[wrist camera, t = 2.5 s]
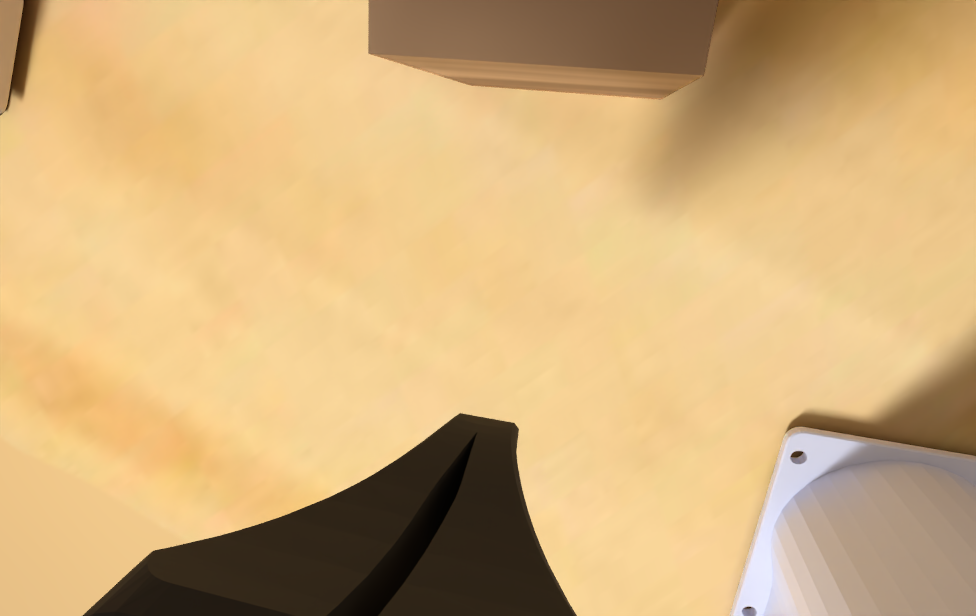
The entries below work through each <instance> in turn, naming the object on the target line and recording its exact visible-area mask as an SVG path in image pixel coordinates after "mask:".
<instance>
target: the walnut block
mask: <svg viewBox="0 0 976 616" xmlns="http://www.w3.org/2000/svg"><path fill="white" fill-rule="evenodd" d="M718 1H719V0H369V54H372V55H375V56H378V57H381V58H384V59H388V60H391V61H394V62H397V63H400V64H404V65H407V66H410V67H413V68H416V69H420V70H423V71H426V72H429V73H433V74H436V75H439V76H442V77H445V78H449V79H452V80H455V81H458V82H461V83H465V84H468V85H472V86H485V87H499V88H512V89H526V90H539V91H553V92H566V93H580V94H594V95H607V96H621V97H634V98H648V99H663V98H665V97H666V96H668V95H670V94H672V93H673V92H675V91H677V90H679V89H681V88H682V87H684V86H686V85H688V84H690V83H691V82H693V81H695V80H697V79H699V78H700V77H702V76H704V72H705V67H706V62H707V57H708V52H709V46H710V41H711V36H712V31H713V26H714V21H715V16H716V11H717V6H718Z"/></svg>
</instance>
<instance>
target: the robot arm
mask: <svg viewBox="0 0 976 616" xmlns="http://www.w3.org/2000/svg"><path fill="white" fill-rule="evenodd" d="M518 431H519V429H518V427H517V426H516V425H515V423H511V422H505V421H500V420H494V419H489V418H483V417H478V416H472V415H467V414H461V413H460V414H458V415H457V416H456V417H454V418H453V419H451V420H450V421H449V422H447V423H446V424H445V425H444V426H442V427H441V428H440V429H438V430H437V431H436V432H435V433H433V434H432V435H431V436H429V437H428V438H427V439H425V440H424V441H423V442H421V443H420V444H419V445H417V446H416V447H414V448H413V449H412V450H410V451H409V452H407V453H406V454H405V455H403V456H402V457H400V458H399V459H397V460H396V461H394V462H393V463H391V464H389V465H388V466H386V467H385V468H383V469H382V470H380V471H378V472H377V473H375V474H374V475H372V476H370V477H368V478H367V479H365V480H363V481H361V482H359V483H357V484H355V485H353V486H351V487H349V488H347V489H345V490H343V491H341V492H339V493H337V494H335V495H333V496H331V497H329V498H327V499H324V500H322V501H319V502H317V503H315V504H312V505H310V506H307V507H305V508H302V509H300V510H297V511H295V512H292V513H290V514H287V515H285V516H282V517H279V518H276V519H273V520H270V521H267V522H264V523H261V524H259V525H255V526H252V527H249V528H245V529H242V530H239V531H235V532H232V533H228V534H224V535H221V536H217V537H213V538H209V539H204V540H200V541H196V542H191V543H187V544H183V545H179V546H174V547H170V548H165V549H160V550H155V551H153V552H151V553H150V554H149V555H148V556H147V557H146V558H145V559H143V560H142V561H141V562H140V563H139V564H138V565H137V566H136V567H135V568H133V569H132V570H131V571H130V572H129V573H128V574H127V575H126V576H125V577H124V578H123V579H122V580H120V581H119V582H118V583H117V584H116V585H115V586H114V587H113V588H112V589H111V590H110V591H109V592H108V593H107V594H105V595H104V596H103V597H102V598H101V599H100V600H99V601H98V602H97V603H96V604H95V605H94V606H92V607H91V608H90V609H89V610H88V611H87V612H86V613H85V614H84V615H83V616H577V615H576V614H575V612H574V610H573V609H572V607H571V606H570V604H569V602H568V600H567V598H566V597H565V595H564V593H563V591H562V589H561V587H560V585H559V583H558V581H557V580H556V578H555V576H554V574H553V572H552V570H551V568H550V566H549V564H548V562H547V560H546V557H545V555H544V553H543V551H542V548H541V546H540V544H539V541H538V538H537V536H536V533H535V531H534V528H533V525H532V522H531V519H530V516H529V513H528V509H527V506H526V502H525V499H524V495H523V491H522V487H521V482H520V476H519V471H518V465H517V455H516V449H517V440H518ZM795 451H803V454H802V455H801V456H799V457H797V458H793V457H790V456H791V454H792V453H793V452H795ZM745 607H752V608H750V609H745ZM729 616H976V456H973V455H967V454H961V453H955V452H949V451H943V450H937V449H931V448H926V447H920V446H914V445H908V444H902V443H896V442H890V441H884V440H878V439H872V438H866V437H860V436H854V435H849V434H843V433H837V432H831V431H825V430H819V429H813V428H807V427H795V428H792V429H790V430H789V431H787V432H786V434H785V436H784V438H783V441H782V445H781V448H780V451H779V454H778V458H777V461H776V464H775V468H774V471H773V474H772V477H771V481H770V484H769V487H768V491H767V494H766V497H765V500H764V504H763V507H762V510H761V514H760V517H759V520H758V523H757V527H756V530H755V533H754V537H753V540H752V543H751V546H750V550H749V553H748V556H747V560H746V563H745V566H744V569H743V573H742V576H741V579H740V583H739V586H738V589H737V592H736V596H735V599H734V602H733V605H732V609H731V612H730V615H729Z"/></svg>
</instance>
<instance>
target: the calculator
mask: <svg viewBox="0 0 976 616" xmlns="http://www.w3.org/2000/svg"><path fill="white" fill-rule="evenodd" d="M23 3H24V0H0V115H2V114H3V112H4V111H5V110H6V107H7V103H8V97H9V91H10V85H11V78H12V72H13V66H14V60H15V54H16V47H17V41H18V35H19V29H20V23H21V17H22V10H23Z"/></svg>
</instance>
